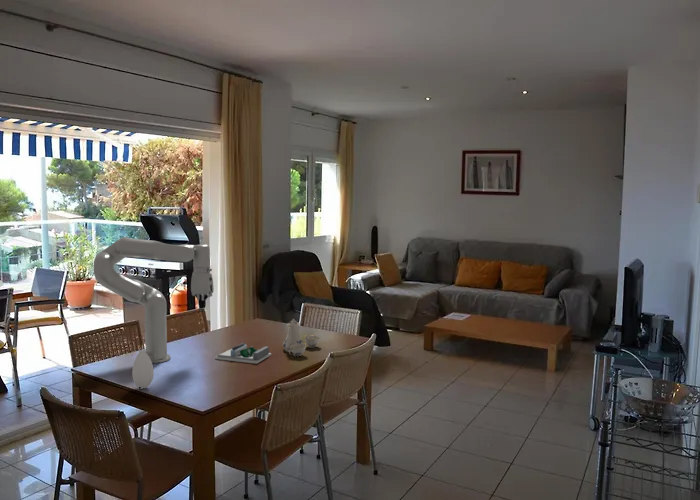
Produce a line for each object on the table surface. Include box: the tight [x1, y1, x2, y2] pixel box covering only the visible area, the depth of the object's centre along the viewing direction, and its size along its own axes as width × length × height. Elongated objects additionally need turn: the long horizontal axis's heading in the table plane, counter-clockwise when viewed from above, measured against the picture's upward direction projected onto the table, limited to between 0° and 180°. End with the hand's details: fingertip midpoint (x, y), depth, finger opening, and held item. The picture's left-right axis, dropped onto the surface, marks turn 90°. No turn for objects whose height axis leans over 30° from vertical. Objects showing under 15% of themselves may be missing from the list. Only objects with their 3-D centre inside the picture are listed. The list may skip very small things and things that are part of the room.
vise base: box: [214, 345, 272, 365], centre depth 269 cm, size 15×22×4 cm
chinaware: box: [282, 318, 321, 358], centre depth 282 cm, size 28×17×17 cm, turn 167°
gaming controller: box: [240, 345, 259, 358], centre depth 267 cm, size 9×4×6 cm
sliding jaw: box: [231, 342, 248, 356], centre depth 270 cm, size 12×2×4 cm, turn 162°
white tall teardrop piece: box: [131, 343, 155, 389], centre depth 223 cm, size 8×8×18 cm
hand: (202, 308), depth 270 cm, fingers closed
